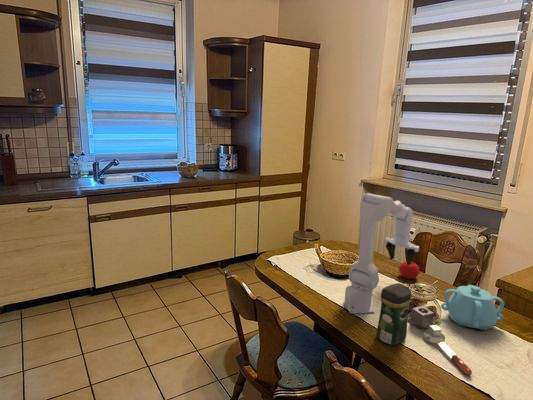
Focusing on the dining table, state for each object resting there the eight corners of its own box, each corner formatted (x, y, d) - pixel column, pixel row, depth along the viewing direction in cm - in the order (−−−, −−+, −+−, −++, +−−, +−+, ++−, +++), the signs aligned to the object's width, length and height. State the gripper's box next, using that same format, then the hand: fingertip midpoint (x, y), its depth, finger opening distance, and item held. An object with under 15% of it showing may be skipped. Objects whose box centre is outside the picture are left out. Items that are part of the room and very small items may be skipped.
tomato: (394, 276, 169) (396, 260, 167) (404, 271, 175) (406, 256, 173) (412, 283, 163) (414, 266, 161) (421, 278, 168) (424, 262, 167)
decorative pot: (468, 307, 144) (474, 275, 141) (506, 330, 129) (513, 295, 126) (435, 313, 139) (440, 280, 136) (470, 337, 124) (477, 300, 121)
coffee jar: (388, 327, 128) (395, 278, 123) (409, 339, 121) (416, 287, 117) (371, 336, 122) (377, 285, 118) (392, 349, 116) (399, 295, 111)
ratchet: (419, 334, 124) (421, 322, 123) (437, 333, 125) (438, 321, 124) (459, 377, 104) (462, 364, 103) (479, 376, 105) (482, 363, 104)
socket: (420, 331, 126) (423, 315, 125) (410, 323, 131) (412, 308, 129) (431, 328, 128) (434, 312, 127) (420, 320, 133) (423, 305, 131)
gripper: (423, 234, 152) (420, 262, 157) (390, 225, 163) (389, 252, 167) (415, 240, 148) (413, 269, 153) (382, 231, 158) (381, 259, 163)
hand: (400, 261), depth 160 cm, fingers open, 7 cm apart
